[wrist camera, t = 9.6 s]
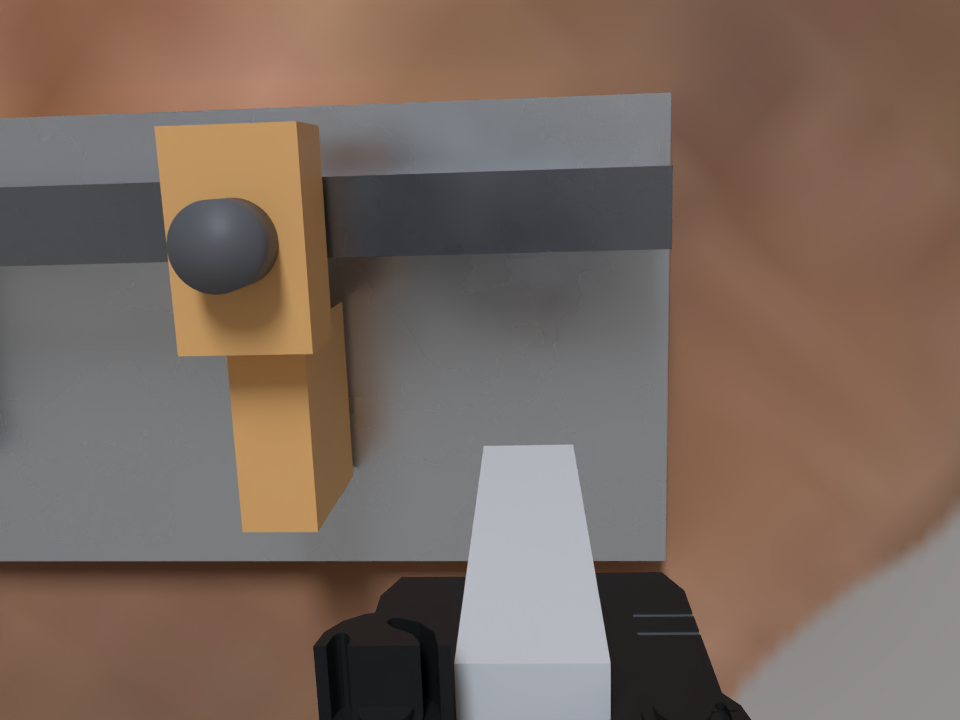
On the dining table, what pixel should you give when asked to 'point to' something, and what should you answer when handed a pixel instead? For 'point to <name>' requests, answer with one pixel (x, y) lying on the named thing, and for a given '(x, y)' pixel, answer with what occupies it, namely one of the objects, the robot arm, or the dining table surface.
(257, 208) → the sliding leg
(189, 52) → the dining table surface
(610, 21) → the dining table surface
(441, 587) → the robot arm
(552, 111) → the plate
